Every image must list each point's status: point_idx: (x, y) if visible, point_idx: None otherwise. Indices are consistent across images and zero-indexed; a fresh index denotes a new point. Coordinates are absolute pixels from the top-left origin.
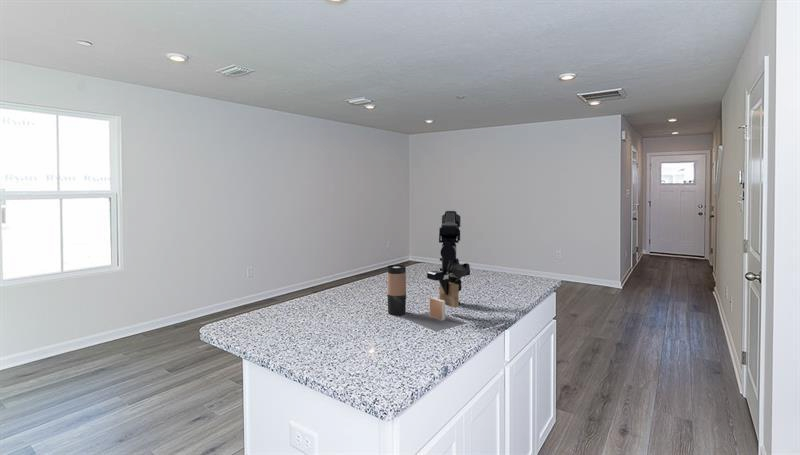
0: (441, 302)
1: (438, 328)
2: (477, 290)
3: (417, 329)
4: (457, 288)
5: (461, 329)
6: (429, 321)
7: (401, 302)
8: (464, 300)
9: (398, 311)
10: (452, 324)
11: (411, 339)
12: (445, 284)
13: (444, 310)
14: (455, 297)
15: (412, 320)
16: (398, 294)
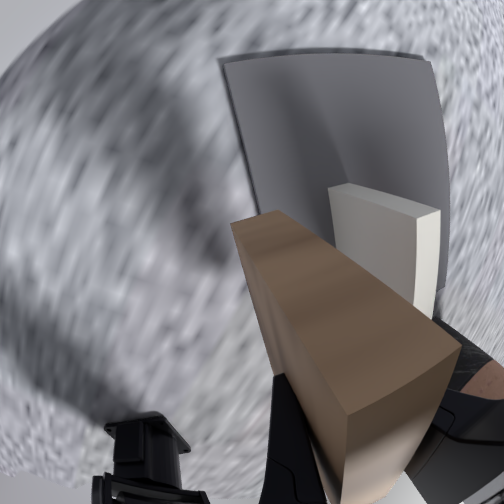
0: (433, 215)
1: (413, 81)
2: (35, 473)
3: (460, 142)
4: (334, 330)
5: (309, 19)
6: (405, 197)
7: (464, 348)
8: (80, 442)
9: (447, 327)
10: (331, 86)
11: (486, 76)
12: (466, 404)
13: (368, 197)
14: (309, 243)
15: (441, 243)
16: (495, 363)
